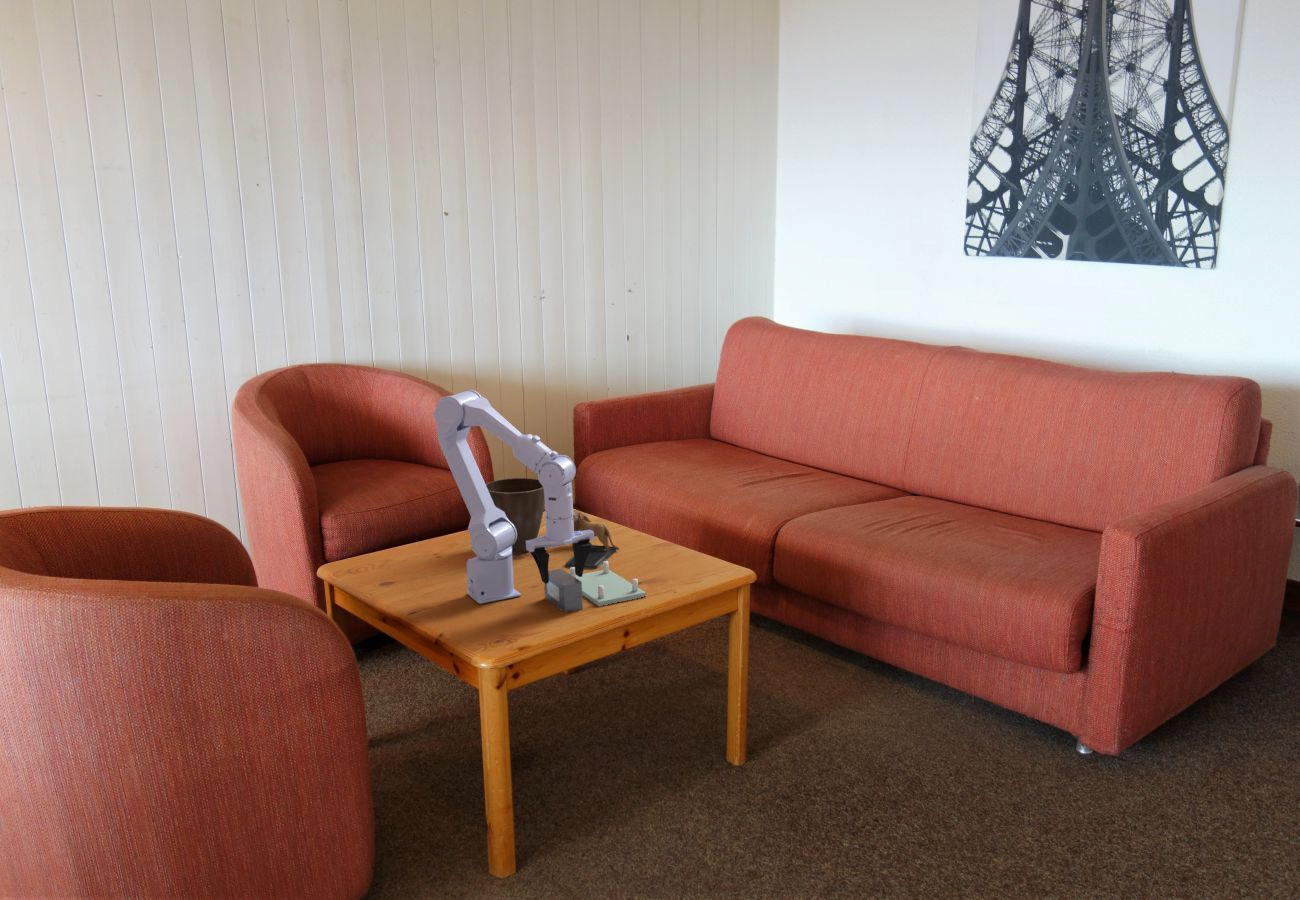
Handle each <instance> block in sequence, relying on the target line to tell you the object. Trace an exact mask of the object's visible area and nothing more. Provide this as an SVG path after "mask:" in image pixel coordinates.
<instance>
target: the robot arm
mask: <svg viewBox="0 0 1300 900" xmlns="http://www.w3.org/2000/svg"><path fill="white" fill-rule="evenodd" d="M432 414H433V417H434V419H435V421H436V428H437V429H436V433H437V442H438V445H439V446H440V449H441V451H442V453H443V456H444V458H445V460H446V463H447V465H448V467H449V469H450V472H451V474H452V477H453V479H454V481H455V484H456V485H457V488H458V489H459V492H460V495H461V497H462V499H463V502H464V504H465V506H466V508H467V510H468V513H469V515H470V520H469V524H468V527H467V531H468V533H469V536H470V546H471V547H470V548H471V549H472V552H473V553H474V554H475V555H476V556H475V557H473V558H469V559H467V561H466V582H467V583H466V584H467V591H466V594H467V595H469V597H471V598H472V599H473V600H474V601H475V602H476V603H478V604H479V605H481V604H487V603H491V602H496V601H500V600H506V599H507V600H508V599H511V598H517V597H521V595H522V594H521V593H520V592H519V591H518V590H517V589H515V585H514V584H515V583H514V564H513V553H512V545H513V544H514V543H515V541H516V539H517V531H516V528H515V526H514V525H513V523H511V522H510V521H509V520H508V518H507V517H506V514H505V512H503V511H502V510H500V509H498V508H497V507H495V505H494V503H493V500H492V498H491V496H490V493H489V491H488V489H487V487H486V484H487V483H486V482H485V480H484V477H483V476H482V474H481V471H480V468H479V466H478V464H477V461H476V460H475V458H474V457H475V456H474V455H473V453H472V450H471V448H470V446H469V443H468V442H467V438H468V435H469V432H470V430H471V427H483V428H484V429H485V430H487V432H489V433H491V434H492V435H494V436H495V437H497V438H498V439H499V440H501V441H503V442H504V443H505V444H506V445H508V446H509V447H510V448H512V454H513V457H515V459H517V460H518V461H519V462H521V463H522V464H523V465H525V467H527V468H528V469H530V470H531V471H532V472H533V473H535V475H537V479H538V480H539V482H540V483H541V485H542V486H543V488H544V498H545V504H544V511H545V512H544V513H545V514H544V517H545V535H542V536H538V537H537V538H535V539H532V540H528V541H526V550H527V551H528V552H529V553H530V554H531V556H532V559H533V560H534V561H535V564H536V566H537V568H538V571H539V574H540V578H541V582H542V583H544V585H545V584H546V583H549V574H548V571H549V561H550V554H549V553H548V552H547V550H546V549H549V548H554V547H559V546H561V547H562V546H564V545H571V544H572V550H573V551H572V552H573V556H574V559H575V574H576V575H577V576H579V577H582V575H583V574H584V570H585V569H584V565H585V562H586V559H587V557H588V554H589V552H590V551H591V549H592V545H593V544H592V542H593V541H595V537H594V532H593V531H591V530H584V531H574V522H573V510H574V505H573V504H574V502H573V500H574V499H573V498H574V497H573V484H572V483H573V482H572V481H573V480H574V478H575V477H576V474H577V468H576V465H575V463H574V461H573V460H572V459H571V457H570V456H568V455H567V454H566V455H565V454H559V452H557V451H555V450H552V449H551V448H550V447H548V446H547V445H545V444H544V443H543V442H542V441H541V437H540V436H538V435H536V434H535V435H533V434H531V433H529V434H524V433H523V434H522V433H521V431H519V430H518V429H517V428H516V427H515V426H514V425H513V424H512V423H510V422H509V421H508V420H507V419H506V418H505V417H503V415H502V414H500V413H499V412H498V411H497V410H496V409H495V408H493V406H492V405H491V403H490V401H489V400H488V399H487V398H486V397H484V396H482V395H481V394H480V393H479V392H478V391H476V390H474V389H466V390H463V391H461V392H459V393H455V394H452V395H448V396H447V395H446V396H443V397H442V398H440V399H439V400H438V402H437V403H436V406H435V409H434V411H433V412H432Z"/></svg>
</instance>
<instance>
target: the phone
mask: <svg viewBox="0 0 1300 900" xmlns="http://www.w3.org/2000/svg"><path fill="white" fill-rule="evenodd" d="M605 549H606V547H605V546H603V545H597V544H592V549H591V551H590V552H589V554H588V557H587V559H586V562H585V565H584V570H597V569H598V568H600V567H601V566H603V562H604V561H608V559H609V558H611V557H612V556H613V555H614V554H615V553H616V552H617V550H616V549H614V547H613V546H610V545H609V549H610V550H609V551H605ZM565 567H567V568H571V567H575V559H574V555H573V556H572V557H571V558H570V559H568V560H567V561H566V562H565Z"/></svg>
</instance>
